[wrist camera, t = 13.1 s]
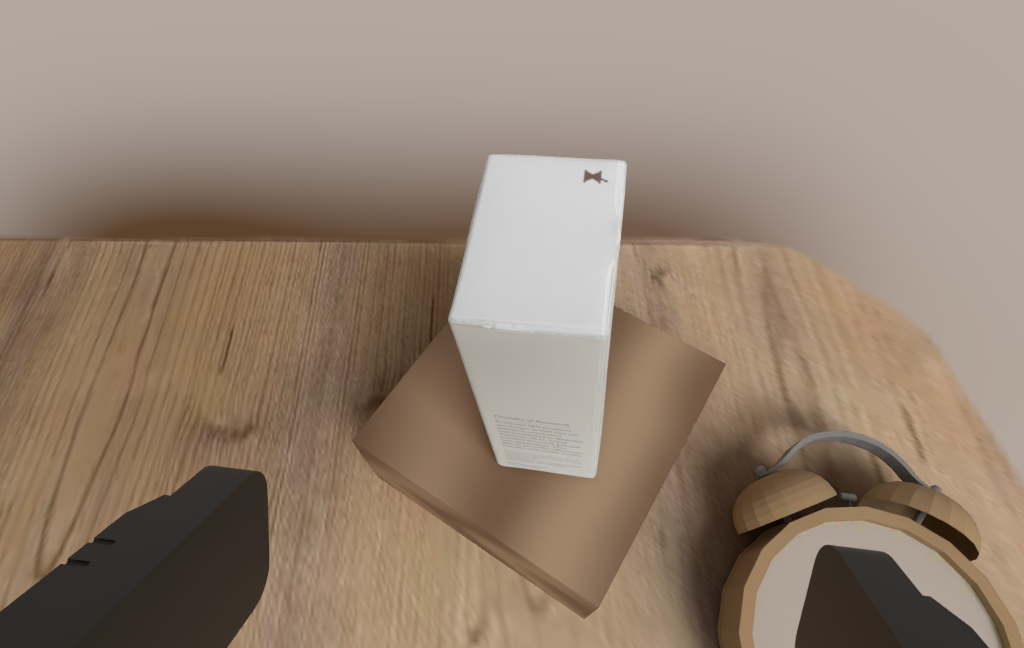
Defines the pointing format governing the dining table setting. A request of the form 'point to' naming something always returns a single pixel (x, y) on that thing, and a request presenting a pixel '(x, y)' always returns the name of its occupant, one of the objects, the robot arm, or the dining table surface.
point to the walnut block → (538, 494)
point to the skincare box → (541, 306)
